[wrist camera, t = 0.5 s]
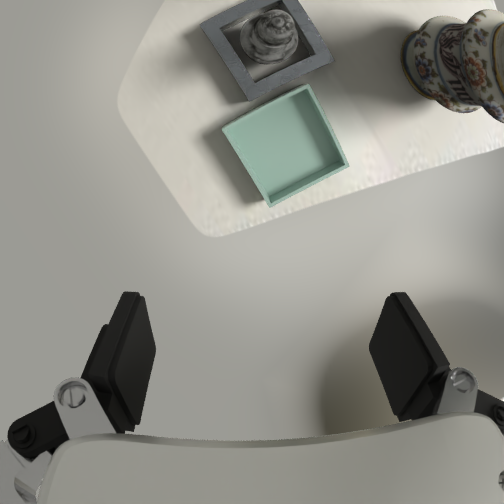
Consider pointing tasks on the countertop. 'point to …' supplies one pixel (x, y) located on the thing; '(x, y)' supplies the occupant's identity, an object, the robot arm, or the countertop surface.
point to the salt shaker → (269, 37)
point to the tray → (286, 144)
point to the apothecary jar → (459, 62)
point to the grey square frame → (319, 54)
